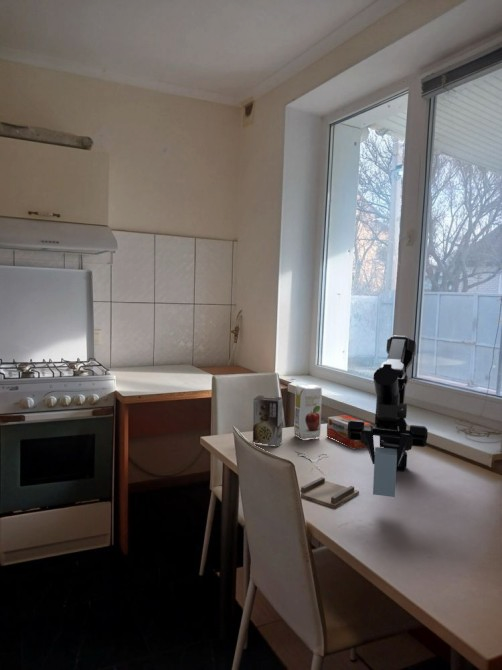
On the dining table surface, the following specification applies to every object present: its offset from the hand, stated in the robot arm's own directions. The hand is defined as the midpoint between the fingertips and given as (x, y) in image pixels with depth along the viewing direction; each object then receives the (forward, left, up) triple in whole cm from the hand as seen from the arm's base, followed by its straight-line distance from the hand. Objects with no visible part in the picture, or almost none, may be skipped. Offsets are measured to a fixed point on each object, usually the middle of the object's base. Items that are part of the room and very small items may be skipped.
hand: (385, 464), depth 119 cm
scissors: (-21, +32, -13) cm, 41 cm away
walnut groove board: (-14, +8, -12) cm, 21 cm away
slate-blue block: (0, +1, -7) cm, 7 cm away
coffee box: (-39, +46, -13) cm, 62 cm away
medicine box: (-12, +59, -13) cm, 61 cm away
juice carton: (-27, +58, -13) cm, 66 cm away
